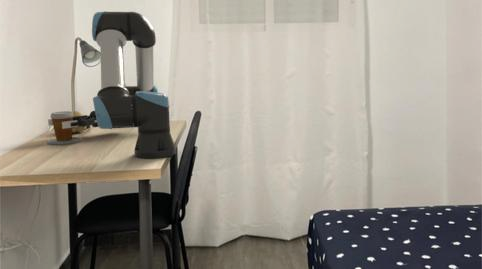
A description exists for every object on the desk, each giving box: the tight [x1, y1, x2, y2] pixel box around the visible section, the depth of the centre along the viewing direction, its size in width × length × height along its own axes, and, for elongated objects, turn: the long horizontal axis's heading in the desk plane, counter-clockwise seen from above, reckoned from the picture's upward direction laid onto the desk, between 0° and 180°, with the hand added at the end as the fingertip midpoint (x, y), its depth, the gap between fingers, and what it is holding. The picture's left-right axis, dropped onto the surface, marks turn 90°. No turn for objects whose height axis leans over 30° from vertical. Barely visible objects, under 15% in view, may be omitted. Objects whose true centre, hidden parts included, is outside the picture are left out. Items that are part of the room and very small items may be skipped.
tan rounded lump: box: [72, 110, 88, 134], centre depth 227 cm, size 10×12×11 cm
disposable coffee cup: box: [50, 110, 74, 141], centre depth 202 cm, size 10×10×12 cm
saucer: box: [46, 136, 82, 146], centre depth 203 cm, size 14×14×1 cm
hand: (55, 123), depth 200 cm, fingers open, 13 cm apart
